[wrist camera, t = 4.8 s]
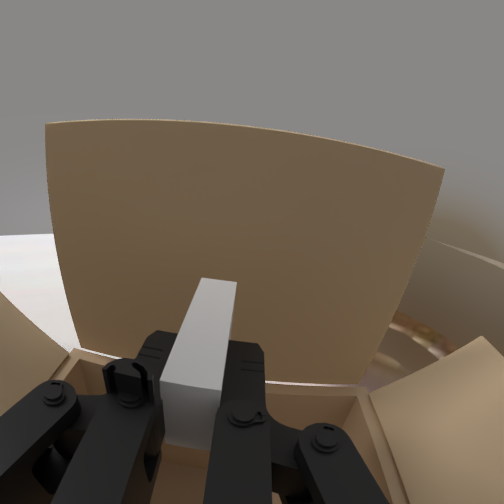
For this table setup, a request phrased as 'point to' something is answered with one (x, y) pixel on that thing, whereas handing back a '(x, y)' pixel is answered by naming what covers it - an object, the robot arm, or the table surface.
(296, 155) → the carton flap
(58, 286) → the table surface
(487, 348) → the carton
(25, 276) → the table surface
